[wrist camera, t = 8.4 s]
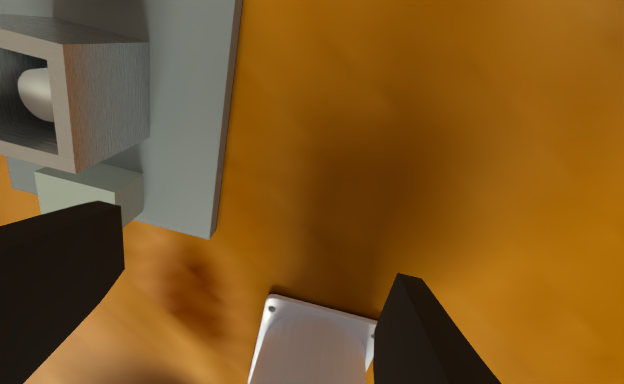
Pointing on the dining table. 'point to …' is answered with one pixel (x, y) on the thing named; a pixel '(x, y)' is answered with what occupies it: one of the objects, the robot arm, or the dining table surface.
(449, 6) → the dining table surface
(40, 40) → the box
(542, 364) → the dining table surface
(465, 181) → the dining table surface
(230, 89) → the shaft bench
